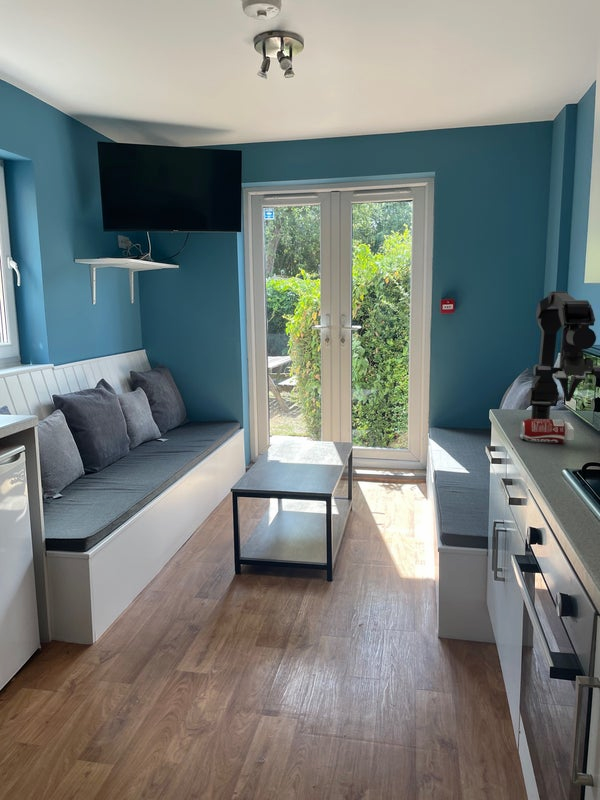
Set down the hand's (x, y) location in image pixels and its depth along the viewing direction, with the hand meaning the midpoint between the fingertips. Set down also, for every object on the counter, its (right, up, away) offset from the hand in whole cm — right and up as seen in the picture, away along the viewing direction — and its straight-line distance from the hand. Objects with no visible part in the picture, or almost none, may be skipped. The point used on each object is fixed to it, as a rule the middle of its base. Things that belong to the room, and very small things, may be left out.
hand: (567, 401), depth 163 cm
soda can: (+2, -9, +5) cm, 10 cm away
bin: (+1, -11, +14) cm, 17 cm away
